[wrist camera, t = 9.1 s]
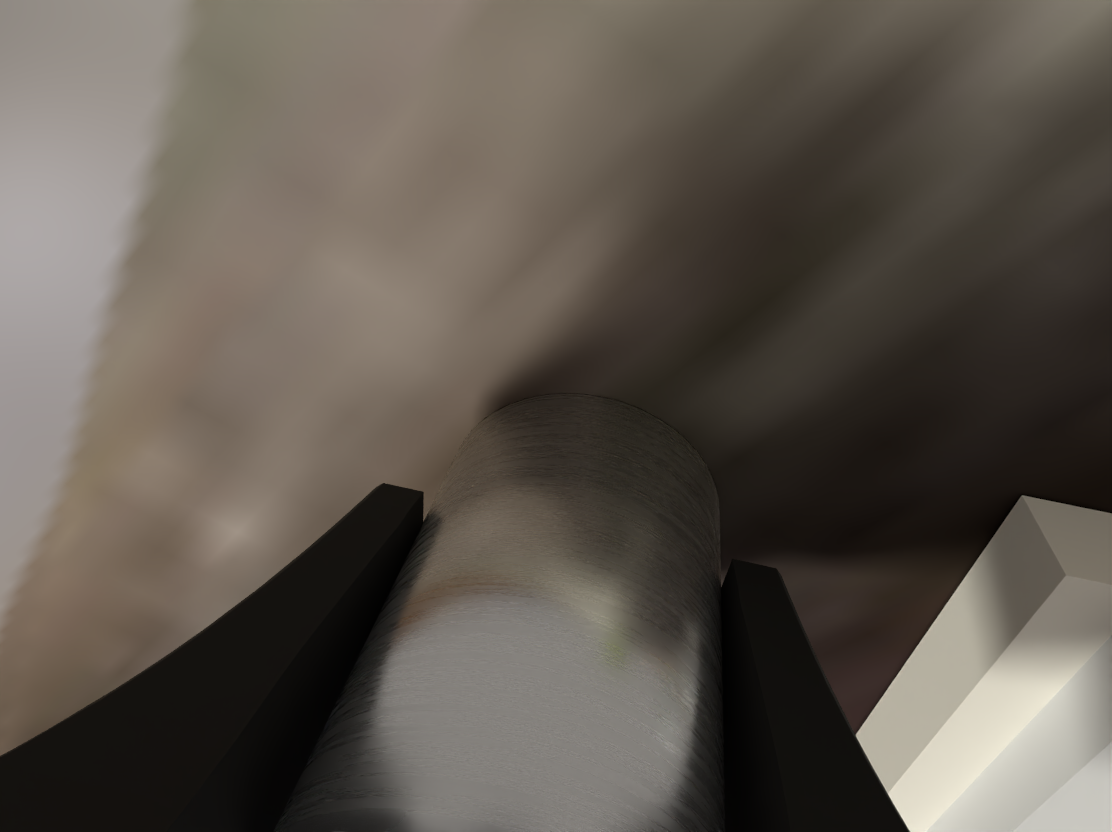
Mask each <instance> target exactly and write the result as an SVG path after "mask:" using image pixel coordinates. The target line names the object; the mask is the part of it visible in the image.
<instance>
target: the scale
mask: <svg viewBox="0 0 1112 832" xmlns="http://www.w3.org/2000/svg"><path fill="white" fill-rule="evenodd" d="M856 737H857V739H858V741H859V743H860V745H861V747H862V748H863V750H864V752H865V754H866V756H867V758H868V760H869V761H870V763H871V765H872V767H873V769H874V770H875V772H876V774H877V776H878V777H879V779H880V781H881V783H882V784H883V786H884V788H885V790H886V791H887V793H888V795H889V797H890V799H891V800H892V802H893V804H894V805H895V807H896V809H897V811H898V812H899V814H900V816H901V817H902V819H903V821H904V822H905V824H906V826H907V827H908V829H909V831H910V832H1112V513H1107V512H1102V511H1097V510H1092V509H1087V508H1082V507H1077V506H1073V505H1068V504H1063V503H1058V502H1053V501H1048V500H1043V499H1038V498H1033V497H1028V496H1023V495H1022V496H1021V497H1020V499H1019V500H1018V501H1017V503H1016V504H1015V506H1014V507H1013V509H1012V510H1011V512H1010V513H1009V514H1008V516H1007V517H1006V519H1005V520H1004V522H1003V523H1002V525H1001V526H1000V527H999V529H998V530H997V532H996V533H995V535H994V536H993V538H992V539H991V540H990V542H989V543H988V545H987V546H986V548H985V549H984V551H983V552H982V553H981V555H980V556H979V558H978V559H977V561H976V562H975V564H974V565H973V566H972V568H971V569H970V571H969V572H968V574H967V575H966V577H965V578H964V579H963V581H962V582H961V584H960V585H959V587H958V588H957V590H956V591H955V592H954V594H953V595H952V597H951V598H950V600H949V601H948V603H947V604H946V605H945V607H944V608H943V610H942V611H941V613H940V614H939V616H938V617H937V618H936V620H935V621H934V623H933V624H932V626H931V627H930V629H929V630H928V631H927V633H926V634H925V636H924V637H923V639H922V640H921V642H920V643H919V644H918V646H917V647H916V649H915V650H914V652H913V653H912V655H911V656H910V657H909V659H908V660H907V662H906V663H905V665H904V666H903V668H902V669H901V670H900V672H899V673H898V675H897V676H896V678H895V679H894V681H893V682H892V683H891V685H890V686H889V688H888V689H887V691H886V692H885V693H884V695H883V696H882V698H881V699H880V701H879V702H878V704H877V705H876V706H875V708H874V709H873V711H872V712H871V714H870V715H869V717H868V718H867V719H866V721H865V722H864V724H863V725H862V727H861V728H860V730H859V731H858V732H857V734H856Z"/></svg>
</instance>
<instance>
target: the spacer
mask: <svg viewBox="0 0 1112 832" xmlns="http://www.w3.org/2000/svg"><path fill="white" fill-rule="evenodd" d="M274 832H725V796H724V737H723V679H722V621H721V562H720V509H719V499H718V493H717V490H716V486H715V482H714V480H713V478H712V476H711V473H710V471H709V469H708V467H707V465H706V464H705V462H704V461H703V459H702V458H701V456H700V455H699V453H698V452H697V451H696V450H695V449H694V448H693V447H692V446H691V444H690V443H689V442H688V441H687V440H686V439H685V438H684V437H682V436H681V435H680V434H679V433H678V432H677V431H675V430H674V429H673V428H672V427H670V426H669V425H667V424H666V423H664V422H663V421H661V420H660V419H658V418H656V417H655V416H653V415H651V414H649V413H647V412H645V411H643V410H641V409H639V408H636V407H633V406H631V405H628V404H625V403H623V402H619V401H616V400H612V399H608V398H604V397H598V396H591V395H584V394H552V395H542V396H537V397H532V398H527V399H524V400H521V401H518V402H515V403H512V404H509V405H507V406H505V407H503V408H501V409H499V410H497V411H495V412H494V413H492V414H491V415H489V416H488V417H486V418H485V419H484V420H482V421H481V422H480V423H479V424H478V425H477V426H476V427H475V428H474V429H473V430H472V431H471V432H470V433H469V434H468V436H467V437H466V438H465V440H464V441H463V442H462V444H461V446H460V448H459V450H458V452H457V454H456V456H455V458H454V460H453V462H452V464H451V466H450V469H449V471H448V473H447V475H446V477H445V479H444V481H443V483H442V485H441V487H440V489H439V491H438V493H437V495H436V497H435V500H434V502H433V504H432V506H431V508H430V510H429V512H428V514H427V516H426V518H425V520H424V522H423V524H422V526H421V528H420V531H419V533H418V535H417V537H416V539H415V541H414V543H413V545H412V547H411V549H410V551H409V553H408V555H407V557H406V559H405V562H404V564H403V566H402V568H401V570H400V572H399V574H398V576H397V578H396V580H395V582H394V584H393V586H392V588H391V590H390V592H389V595H388V597H387V599H386V601H385V603H384V605H383V607H382V609H381V611H380V613H379V615H378V617H377V619H376V621H375V623H374V626H373V628H372V630H371V632H370V634H369V636H368V638H367V640H366V642H365V644H364V646H363V648H362V650H361V652H360V654H359V657H358V659H357V661H356V663H355V665H354V667H353V669H352V671H351V673H350V675H349V677H348V679H347V681H346V683H345V685H344V688H343V690H342V692H341V694H340V696H339V698H338V700H337V702H336V704H335V706H334V708H333V710H332V712H331V714H330V716H329V719H328V721H327V723H326V725H325V727H324V729H323V731H322V733H321V735H320V737H319V739H318V741H317V743H316V745H315V747H314V750H313V752H312V754H311V756H310V758H309V760H308V762H307V764H306V766H305V768H304V770H303V772H302V774H301V776H300V778H299V781H298V783H297V785H296V787H295V789H294V791H293V793H292V795H291V797H290V799H289V801H288V803H287V805H286V807H285V809H284V811H283V814H282V816H281V818H280V820H279V822H278V824H277V826H276V828H275V830H274Z"/></svg>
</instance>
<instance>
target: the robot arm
mask: <svg viewBox="0 0 1112 832" xmlns="http://www.w3.org/2000/svg"><path fill="white" fill-rule="evenodd" d="M423 493H424V492H422V491H417V490H413V489H408V488H403V487H399V486H394V485H390V484H385V483H383V484H381V485H379V486H378V487H376V488H375V489H374V490H373V491H372V492H370V493H369V494H368V495H367V496H366V497H365V498H364V499H363V500H362V501H361V502H360V503H358V504H357V505H356V506H355V507H354V508H353V509H352V510H351V511H350V512H349V513H347V514H346V515H345V516H344V517H343V518H342V519H341V520H340V521H338V522H337V523H336V524H335V525H334V526H333V527H332V528H331V529H329V530H328V531H327V532H326V533H325V534H324V535H322V536H321V537H320V538H319V539H318V540H317V541H316V542H314V543H313V544H312V545H311V546H310V547H309V548H307V549H306V550H305V551H304V552H303V553H301V554H300V555H299V556H298V557H296V558H295V559H294V560H293V561H292V562H290V563H289V564H288V565H287V566H285V567H284V568H283V569H282V570H281V571H279V572H278V573H277V574H276V575H275V576H273V577H272V578H271V579H270V580H268V581H267V582H266V583H265V584H263V585H262V586H261V587H260V588H258V589H257V590H256V591H255V592H253V593H252V594H251V595H249V596H248V597H247V598H245V599H244V600H243V601H241V602H240V603H239V604H237V605H236V606H235V607H233V608H232V609H231V610H229V611H228V612H227V613H225V614H224V615H223V616H221V617H220V618H219V619H217V620H216V621H215V622H213V623H212V624H211V625H209V626H208V627H207V628H205V629H204V630H203V631H201V632H200V633H198V634H197V635H196V636H194V637H193V638H191V639H190V640H188V641H187V642H185V643H184V644H183V645H181V646H180V647H178V648H177V649H175V650H174V651H173V652H171V653H170V654H168V655H167V656H165V657H164V658H162V659H161V660H159V661H158V662H156V663H155V664H153V665H152V666H150V667H149V668H147V669H145V670H144V671H142V672H141V673H139V674H138V675H136V676H135V677H133V678H132V679H130V680H129V681H127V682H125V683H124V684H122V685H121V686H119V687H118V688H116V689H114V690H113V691H111V692H110V693H108V694H106V695H105V696H103V697H101V698H100V699H98V700H96V701H95V702H93V703H91V704H90V705H88V706H86V707H85V708H83V709H81V710H80V711H78V712H76V713H75V714H73V715H71V716H70V717H68V718H66V719H65V720H63V721H61V722H60V723H58V724H56V725H55V726H53V727H51V728H49V729H48V730H46V731H44V732H42V733H41V734H39V735H37V736H35V737H34V738H32V739H30V740H28V741H27V742H25V743H23V744H21V745H20V746H18V747H16V748H14V749H12V750H11V751H9V752H7V753H5V754H3V755H1V756H0V832H274V830H275V828H276V826H277V824H278V822H279V820H280V818H281V816H282V814H283V811H284V809H285V807H286V805H287V803H288V801H289V799H290V797H291V795H292V793H293V791H294V789H295V787H296V785H297V783H298V781H299V778H300V776H301V774H302V772H303V770H304V768H305V766H306V764H307V762H308V760H309V758H310V756H311V754H312V752H313V750H314V747H315V745H316V743H317V741H318V739H319V737H320V735H321V733H322V731H323V729H324V727H325V725H326V723H327V721H328V719H329V716H330V714H331V712H332V710H333V708H334V706H335V704H336V702H337V700H338V698H339V696H340V694H341V692H342V690H343V688H344V685H345V683H346V681H347V679H348V677H349V675H350V673H351V671H352V669H353V667H354V665H355V663H356V661H357V659H358V657H359V654H360V652H361V650H362V648H363V646H364V644H365V642H366V640H367V638H368V636H369V634H370V632H371V630H372V628H373V626H374V623H375V621H376V619H377V617H378V615H379V613H380V611H381V609H382V607H383V605H384V603H385V601H386V599H387V597H388V595H389V592H390V590H391V588H392V586H393V584H394V582H395V580H396V578H397V576H398V574H399V572H400V570H401V568H402V566H403V564H404V562H405V559H406V557H407V555H408V553H409V551H410V549H411V547H412V545H413V543H414V541H415V539H416V537H417V535H418V533H419V531H420V528H421V526H422V524H423ZM721 621H722V679H723V737H724V796H725V832H910V831H909V829H908V827H907V826H906V824H905V822H904V821H903V819H902V817H901V816H900V814H899V812H898V811H897V809H896V807H895V805H894V804H893V802H892V800H891V799H890V797H889V795H888V793H887V791H886V790H885V788H884V786H883V784H882V783H881V781H880V779H879V777H878V776H877V774H876V772H875V770H874V769H873V767H872V765H871V763H870V761H869V760H868V758H867V756H866V754H865V752H864V750H863V748H862V747H861V745H860V743H859V741H858V739H857V737H856V735H855V733H854V732H853V730H852V728H851V726H850V724H849V722H848V720H847V718H846V716H845V714H844V712H843V710H842V708H841V706H840V704H839V702H838V700H837V698H836V696H835V694H834V692H833V690H832V688H831V686H830V684H829V682H828V680H827V678H826V676H825V674H824V672H823V670H822V667H821V665H820V663H819V661H818V659H817V657H816V655H815V652H814V650H813V648H812V646H811V644H810V641H809V639H808V637H807V635H806V633H805V630H804V628H803V626H802V624H801V621H800V619H799V617H798V614H797V612H796V610H795V607H794V605H793V603H792V600H791V598H790V596H789V593H788V591H787V588H786V586H785V584H784V581H783V579H782V576H781V575H780V573H779V572H778V570H777V569H776V568H772V567H767V566H763V565H758V564H753V563H749V562H744V561H740V560H735V559H732V562H731V564H730V567H729V569H728V572H727V574H726V577H725V579H724V582H723V585H722V587H721Z"/></svg>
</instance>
